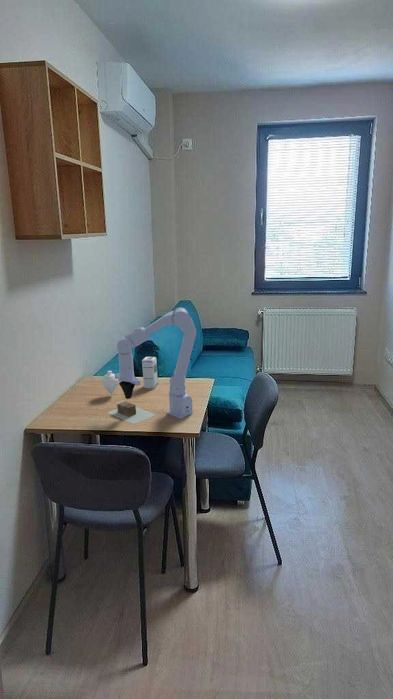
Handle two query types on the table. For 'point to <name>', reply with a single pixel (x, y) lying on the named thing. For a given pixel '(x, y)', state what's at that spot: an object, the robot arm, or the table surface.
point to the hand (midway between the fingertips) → (128, 398)
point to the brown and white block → (126, 408)
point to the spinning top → (110, 382)
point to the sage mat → (135, 418)
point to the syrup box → (150, 372)
